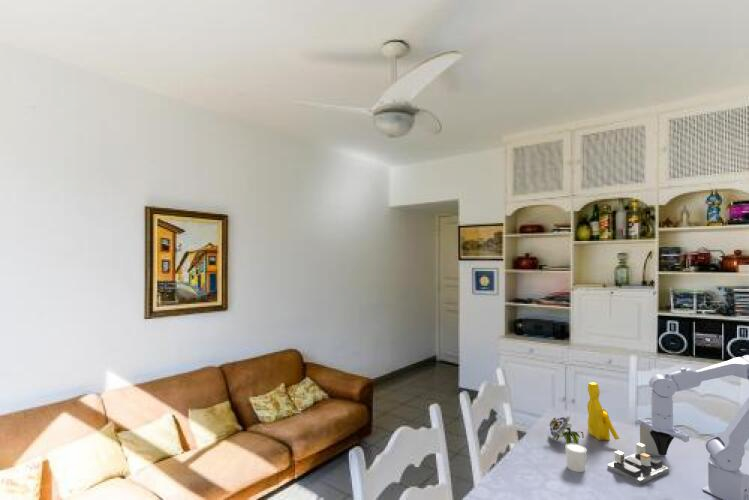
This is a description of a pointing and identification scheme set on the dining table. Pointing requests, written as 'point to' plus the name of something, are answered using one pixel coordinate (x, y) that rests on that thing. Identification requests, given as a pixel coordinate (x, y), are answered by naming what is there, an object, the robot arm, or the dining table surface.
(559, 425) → the passion flower
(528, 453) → the dining table surface
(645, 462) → the handle
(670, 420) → the robot arm
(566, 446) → the white cylinder
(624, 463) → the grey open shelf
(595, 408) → the figure statuette
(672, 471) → the dining table surface
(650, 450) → the can
